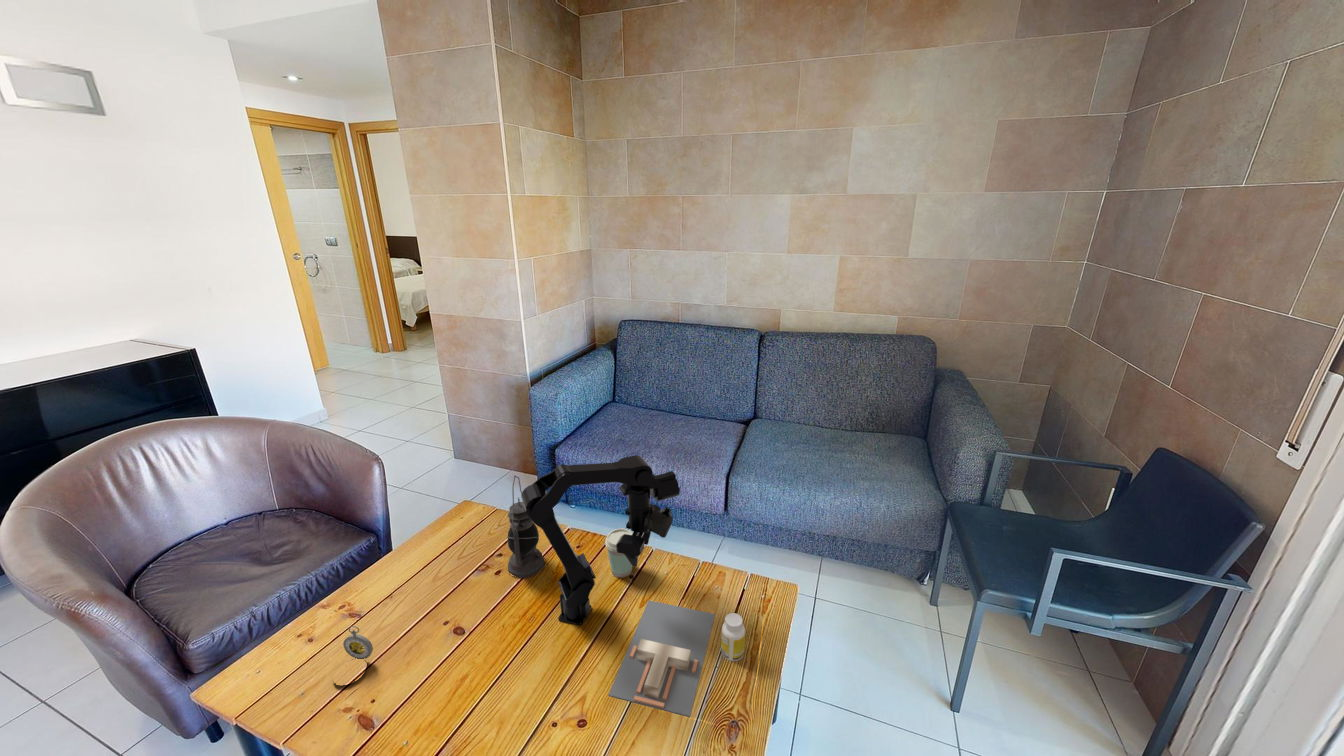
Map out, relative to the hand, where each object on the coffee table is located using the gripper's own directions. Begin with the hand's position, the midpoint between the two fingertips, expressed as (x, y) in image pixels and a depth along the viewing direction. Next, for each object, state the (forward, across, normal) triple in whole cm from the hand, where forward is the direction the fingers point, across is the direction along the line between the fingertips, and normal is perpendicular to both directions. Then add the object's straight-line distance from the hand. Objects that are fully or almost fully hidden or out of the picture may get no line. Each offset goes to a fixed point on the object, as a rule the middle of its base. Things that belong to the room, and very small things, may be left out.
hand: (640, 554), depth 131 cm
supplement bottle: (+12, -13, -27) cm, 32 cm away
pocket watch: (+12, -40, +55) cm, 69 cm away
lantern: (+12, +1, +36) cm, 38 cm away
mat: (+12, -17, -12) cm, 24 cm away
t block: (+12, -24, -12) cm, 29 cm away
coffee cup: (+12, +6, +8) cm, 16 cm away
